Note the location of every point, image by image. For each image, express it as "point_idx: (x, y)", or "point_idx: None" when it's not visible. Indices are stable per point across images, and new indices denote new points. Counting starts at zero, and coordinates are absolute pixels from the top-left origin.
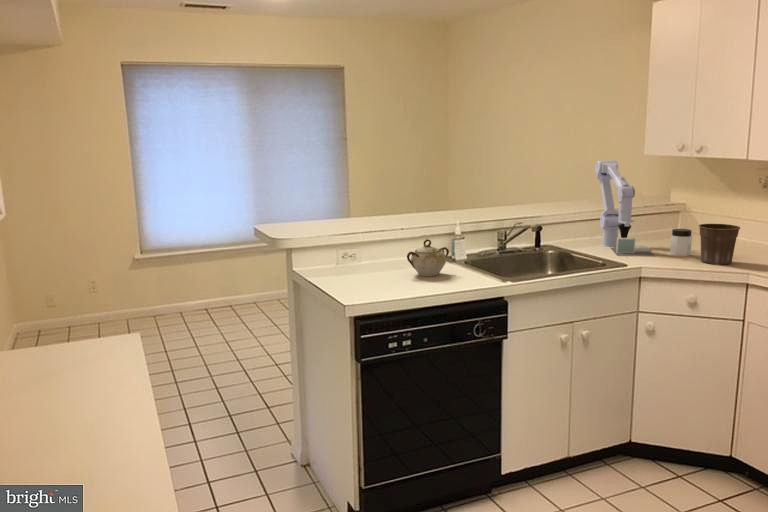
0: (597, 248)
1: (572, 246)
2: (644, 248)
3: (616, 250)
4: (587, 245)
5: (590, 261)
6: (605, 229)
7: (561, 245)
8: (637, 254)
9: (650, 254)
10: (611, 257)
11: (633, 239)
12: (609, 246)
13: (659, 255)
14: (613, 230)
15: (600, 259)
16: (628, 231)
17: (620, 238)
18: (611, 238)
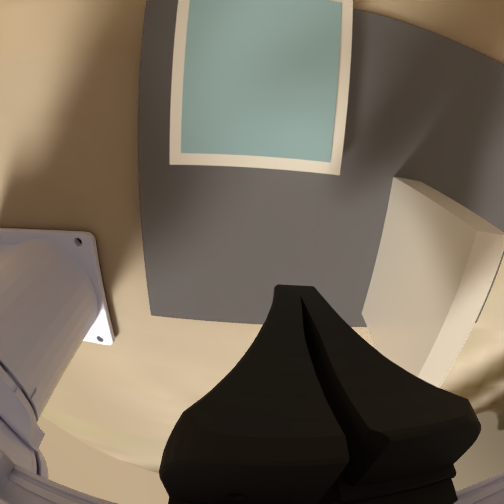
0: (156, 374)
1: (127, 440)
2: (348, 51)
3: (367, 322)
4: (72, 386)
5: (489, 408)
6: (42, 434)
7: (117, 456)
8: (472, 180)
9: (480, 77)
10: (468, 346)
11: (493, 252)
12: (102, 308)
13: (462, 8)
14: (23, 384)
15: (480, 385)
16: (386, 357)
17: (441, 383)
18: (67, 339)
